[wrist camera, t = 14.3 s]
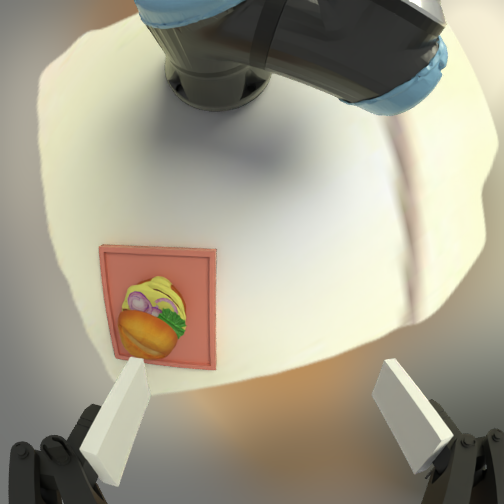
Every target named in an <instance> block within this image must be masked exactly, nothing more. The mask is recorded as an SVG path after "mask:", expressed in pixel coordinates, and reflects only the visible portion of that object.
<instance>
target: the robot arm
mask: <svg viewBox="0 0 504 504" xmlns="http://www.w3.org/2000/svg"><path fill="white" fill-rule="evenodd" d="M134 2H135V4H136V6H137V8H138V10H139V15H140V17H141V20H142V21H143V23H144V24H146V26H147V27H148V29H149V30H150V32H151V33H152V35H153V36H154V38H155V39H156V41H157V42H158V44H159V45H160V47H161V48H162V50H163V51H164V53H165V54H166V61H165V74H166V78H167V81H168V83H169V85H170V87H171V88H172V90H173V91H174V92H175V94H176V95H177V96H178V97H179V98H180V99H181V100H182V101H183V102H185V103H186V104H188V105H190V106H192V107H195V108H198V109H201V110H206V111H225V110H231V109H234V108H238V107H240V106H243V105H245V104H247V103H249V102H250V101H252V100H253V99H255V98H256V97H257V96H258V95H259V94H260V93H261V92H262V91H263V90H264V89H265V87H266V86H267V84H268V82H269V80H270V77H271V74H272V73H275V74H278V75H281V76H284V77H287V78H289V79H292V80H295V81H298V82H301V83H303V84H306V85H308V86H311V87H314V88H316V89H319V90H321V91H323V92H326V93H328V94H330V95H333V96H335V97H337V98H339V100H340V101H342V102H344V103H346V104H348V105H354V106H357V107H360V108H362V109H364V110H366V111H369V112H371V113H373V114H376V115H385V116H393V115H397V114H401V113H403V112H406V111H408V110H410V109H411V108H413V107H415V106H416V105H417V104H419V103H420V102H421V101H422V100H424V99H425V98H426V97H427V96H428V95H429V94H430V93H431V92H432V90H433V89H434V88H435V87H436V85H437V84H438V82H439V80H440V79H441V77H442V73H441V70H442V69H443V68H445V67H446V64H447V59H448V53H447V47H446V45H445V43H444V42H443V40H442V38H441V36H440V33H441V32H442V31H443V29H444V28H445V27H446V25H447V23H446V20H445V16H444V13H443V10H442V7H441V0H134ZM150 397H151V393H150V389H149V384H148V380H147V375H146V370H145V364H144V359H142V358H135V357H130V358H129V360H128V362H127V363H126V365H125V367H124V368H123V370H122V372H121V373H120V375H119V377H118V379H117V380H116V382H115V384H114V386H113V387H112V389H111V391H110V393H109V394H108V396H107V398H106V400H105V402H104V403H103V405H102V406H99V405H95V404H92V405H90V406H89V407H87V408H86V409H85V410H84V412H83V413H82V415H81V417H80V419H79V420H78V422H77V425H75V427H74V429H73V430H72V432H71V434H70V436H69V437H68V439H67V441H66V440H65V439H64V438H63V437H61V436H58V435H51V436H48V437H46V438H45V439H43V441H42V442H41V445H40V446H41V447H40V450H41V451H38V450H34V448H33V447H32V446H31V445H30V444H28V443H27V442H17V443H15V445H13V446H12V449H11V453H10V464H9V504H62V500H63V502H64V504H107V502H106V500H105V498H104V496H103V494H102V492H101V490H100V488H99V486H98V484H97V483H96V481H97V478H98V477H99V478H100V479H101V481H102V482H104V483H107V484H110V485H113V486H116V487H118V486H119V483H120V480H121V477H122V474H123V471H124V468H125V465H126V462H127V459H128V457H129V454H130V451H131V448H132V445H133V442H134V440H135V437H136V434H137V432H138V429H139V426H140V423H141V421H142V418H143V415H144V413H145V410H146V407H147V405H148V402H149V399H150ZM372 397H373V398H374V400H375V402H376V404H377V406H378V407H379V409H380V411H381V413H382V414H383V416H384V418H385V420H386V422H387V424H388V425H389V427H390V429H391V431H392V433H393V435H394V437H395V438H396V440H397V442H398V444H399V446H400V447H401V449H402V451H403V453H404V455H405V457H406V459H407V461H408V463H409V465H410V466H411V469H412V470H413V472H414V474H417V473H419V472H422V471H424V470H426V469H427V468H428V467H429V466H430V465H431V464H432V463H433V464H434V468H433V469H432V470H431V471H430V472H429V473H428V474H427V475H426V477H425V479H427V478H428V477H429V476H430V479H429V482H428V485H427V488H426V491H425V494H424V497H423V500H422V503H421V504H504V433H503V432H502V431H501V430H499V429H491V430H490V431H489V432H488V434H487V435H486V436H485V437H479V438H475V437H474V436H473V435H470V434H462V433H461V432H460V431H459V429H458V428H457V427H456V425H455V424H454V423H453V421H452V420H451V419H450V417H448V415H447V413H446V412H444V409H443V408H442V407H441V406H440V404H438V403H437V402H435V401H434V400H432V399H431V400H427V399H426V397H425V396H424V395H423V393H422V392H421V391H420V389H419V388H418V387H417V386H416V384H415V383H414V382H413V380H412V379H411V378H410V377H409V375H408V374H407V373H406V372H405V370H404V369H403V368H402V366H401V365H400V364H399V363H398V361H397V360H396V359H389V360H384V363H383V365H382V368H381V371H380V374H379V377H378V379H377V382H376V385H375V388H374V390H373V393H372ZM485 465H487V469H485ZM61 497H62V498H61Z"/></svg>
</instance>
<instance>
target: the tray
mask: <svg viewBox="0 0 504 504" xmlns="http://www.w3.org/2000/svg"><path fill="white" fill-rule="evenodd" d="M216 250H217V249H203V248H178V247H153V246H127V245H101V246H99V257H100V267H101V277H102V285H103V293H104V300H105V306H106V313H107V318H108V324H109V329H110V335H111V339H112V344H113V349H114V353H115V357H116V358H117V359H122V360H129V358H130V357H135V356H133V355H131V354H130V353H129V352H128V351H127V350H126V349H125V348H124V346H123V344H122V342H121V338H120V334H119V330H118V325H117V322H118V317H119V314H120V312H122V305H123V302H124V300H125V297H126V293H127V290H128V288H129V287H130V286H132V285H137V284H138V283H139V282H141V281H144V280H147V279H151V278H154V277H156V276H160V277H164V278H166V279H168V280H169V281H170V282H171V283H172V285H174V286H175V288H176V289H177V290H178V291H179V292H180V293H181V294H182V296H183V299H184V301H185V303H186V321H185V324H186V325H187V326H186V328H185V330H186V331H185V332H184V335H182V336H180V338H179V339H178V341H177V344H176V346H175V348H174V349H173V350H172V351H171V353H170V354H169V355H168V356H167V357H165V358H163V359H157V360H147V359H144V363H148V364H155V365H163V366H172V367H181V368H192V369H205V370H216ZM135 358H137V357H135Z"/></svg>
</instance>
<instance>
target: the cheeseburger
mask: <svg viewBox="0 0 504 504" xmlns="http://www.w3.org/2000/svg"><path fill="white" fill-rule="evenodd" d="M185 321H186V303H185V301H184V299H183V296H182V294H181V293H180V292H179V291H178V290H177V289H176V288H175V286H174V285H172V283H171V282H170V281H169V280H168V279H166V278H164V277H160V276H156V277H154V278H151V279H147V280H144V281H141V282H139V283H138V284H137V285H132V286H130V287H129V288H128V290H127V293H126V297H125V300H124V302H123V305H122V312H120V314H119V317H118V322H117V325H118V330H119V334H120V338H121V342H122V344H123V346H124V348H125V349H126V350H127V351H128V352H129V353H130V354H131V355H133V356H135V357H137V358H142V359H147V360H157V359H163V358H165V357H167V356H168V355H169V354H170V353H171V351H172V350H173V349H174V348H175V346H176V344H177V341H178V339H179V338H180V336H182V335H184V332H185V331H186V330H185V328H186V326H187V325H186V324H185Z"/></svg>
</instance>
